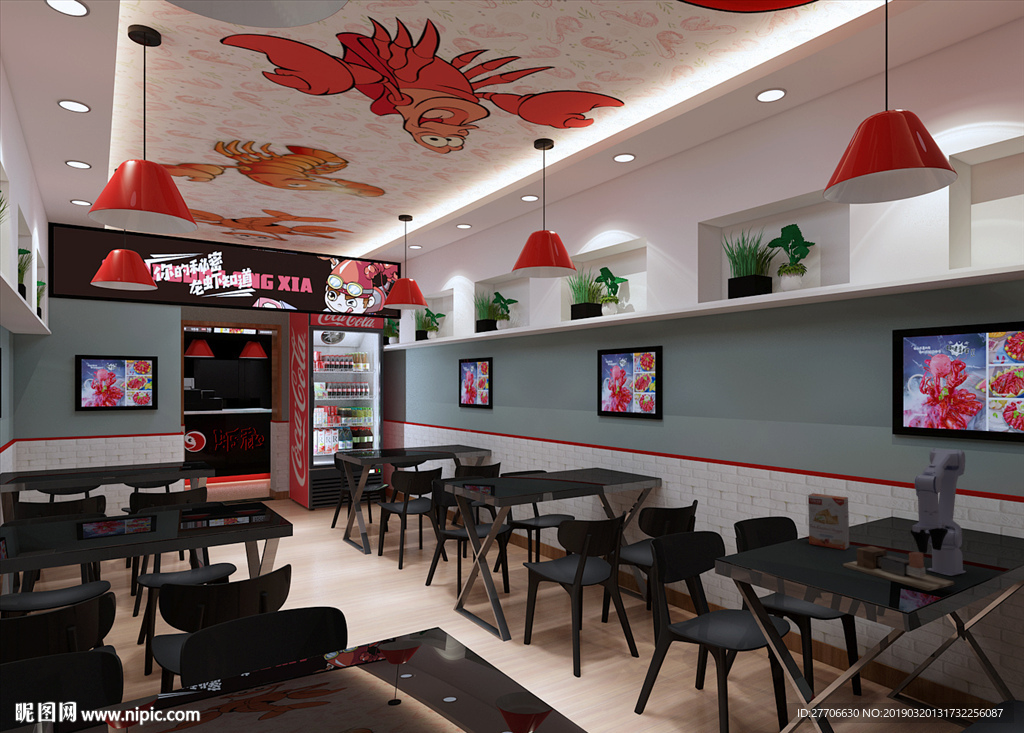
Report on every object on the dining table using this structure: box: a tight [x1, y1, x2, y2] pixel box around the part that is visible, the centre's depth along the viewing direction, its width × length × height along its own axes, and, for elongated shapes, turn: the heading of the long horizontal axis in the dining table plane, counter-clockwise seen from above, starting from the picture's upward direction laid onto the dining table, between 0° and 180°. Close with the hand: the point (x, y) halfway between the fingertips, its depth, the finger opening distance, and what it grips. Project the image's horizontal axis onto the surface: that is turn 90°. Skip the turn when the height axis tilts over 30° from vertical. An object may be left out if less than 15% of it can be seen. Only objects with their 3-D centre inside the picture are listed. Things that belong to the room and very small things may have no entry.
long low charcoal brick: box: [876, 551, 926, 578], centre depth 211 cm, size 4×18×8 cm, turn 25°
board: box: [842, 560, 955, 592], centre depth 211 cm, size 14×30×1 cm, turn 25°
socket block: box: [856, 545, 888, 569], centre depth 219 cm, size 8×6×6 cm
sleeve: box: [881, 554, 910, 577], centre depth 211 cm, size 5×8×5 cm, turn 25°
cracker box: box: [807, 492, 850, 551], centre depth 250 cm, size 14×6×21 cm, turn 45°
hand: (929, 551), depth 204 cm, fingers open, 7 cm apart
